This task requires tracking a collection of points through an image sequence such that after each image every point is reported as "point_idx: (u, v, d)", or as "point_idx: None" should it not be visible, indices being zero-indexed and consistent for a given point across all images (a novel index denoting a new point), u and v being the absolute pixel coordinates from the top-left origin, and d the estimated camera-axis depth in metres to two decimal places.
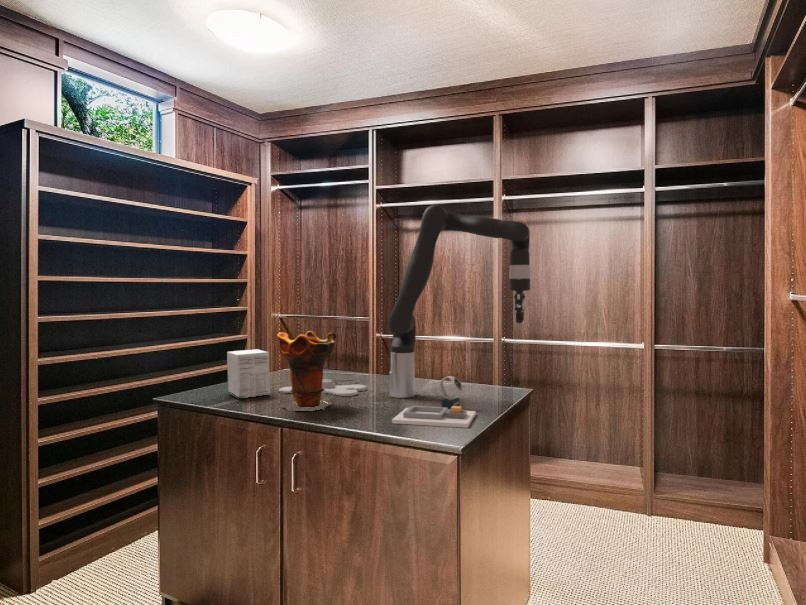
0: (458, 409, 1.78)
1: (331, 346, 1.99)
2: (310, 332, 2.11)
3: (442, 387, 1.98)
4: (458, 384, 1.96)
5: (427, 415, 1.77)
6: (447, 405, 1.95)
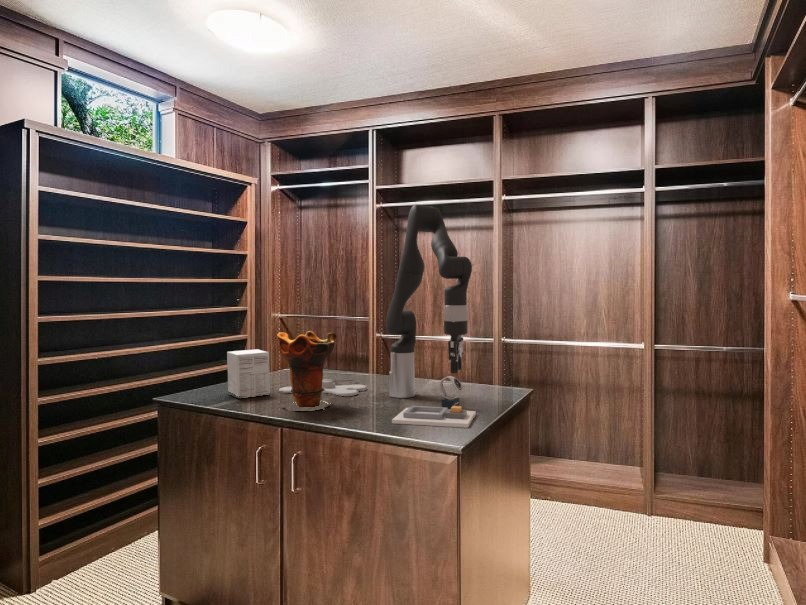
0: (458, 409, 1.78)
1: (331, 346, 1.99)
2: (310, 332, 2.11)
3: (442, 387, 1.98)
4: (458, 384, 1.96)
5: (427, 415, 1.77)
6: (447, 405, 1.95)
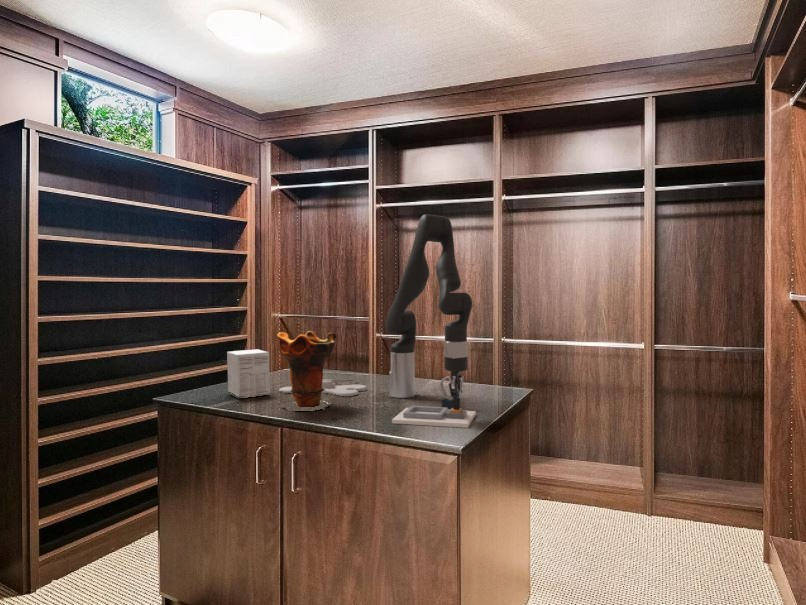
0: (458, 411, 1.78)
1: (331, 346, 1.99)
2: (310, 332, 2.11)
3: (442, 387, 1.98)
4: None
5: (427, 415, 1.77)
6: (447, 405, 1.95)
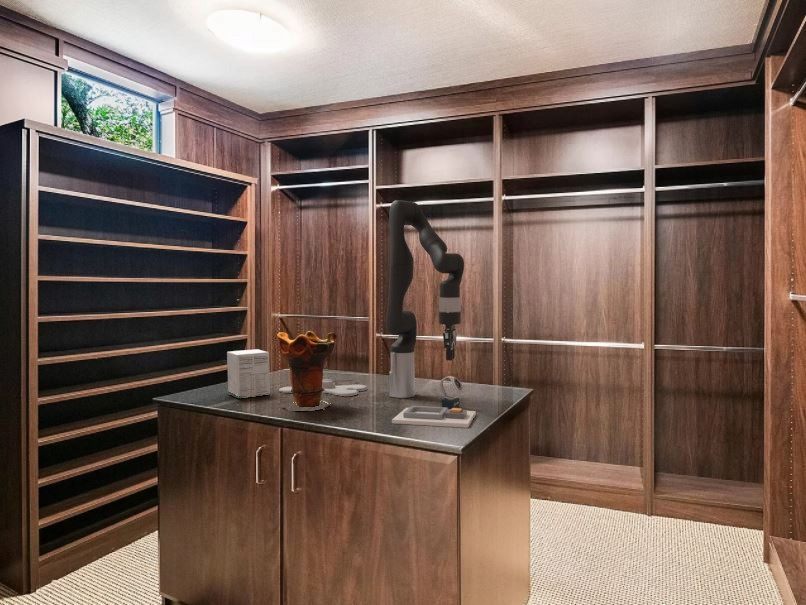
0: (458, 411, 1.78)
1: (331, 346, 1.99)
2: (310, 332, 2.11)
3: (442, 387, 1.98)
4: (458, 384, 1.96)
5: (427, 415, 1.77)
6: (447, 405, 1.95)
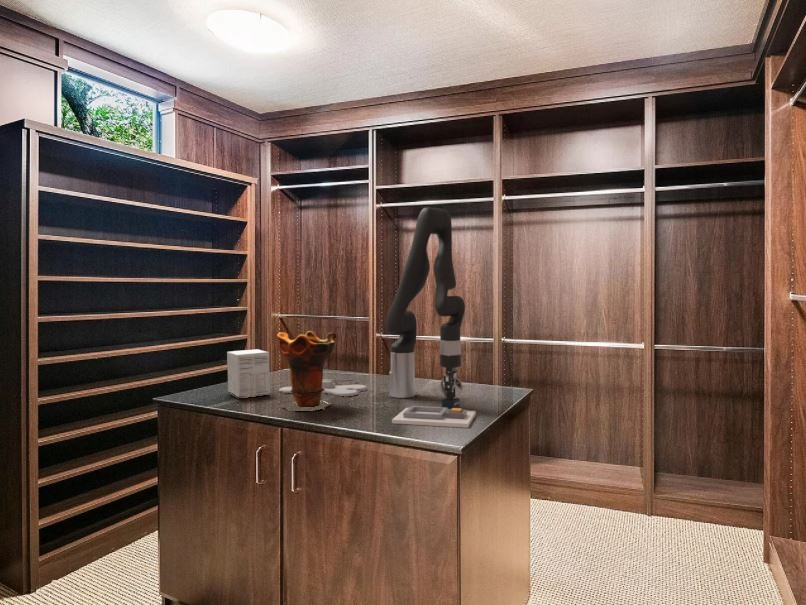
0: (458, 411, 1.78)
1: (331, 346, 1.99)
2: (310, 332, 2.11)
3: (442, 387, 1.99)
4: (458, 384, 1.96)
5: (427, 415, 1.77)
6: (448, 404, 1.95)
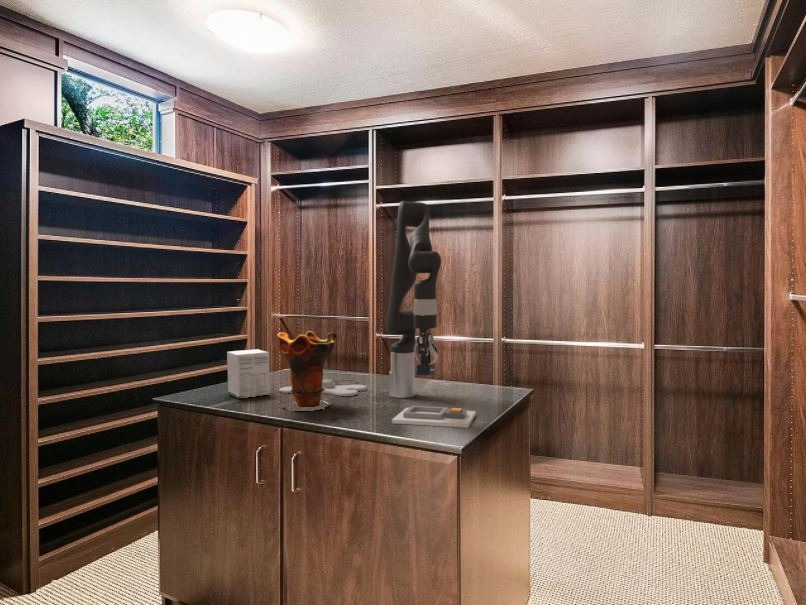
0: (458, 411, 1.78)
1: (331, 346, 1.99)
2: (310, 332, 2.11)
3: (417, 352, 1.83)
4: (435, 348, 1.81)
5: (427, 415, 1.77)
6: (423, 370, 1.79)
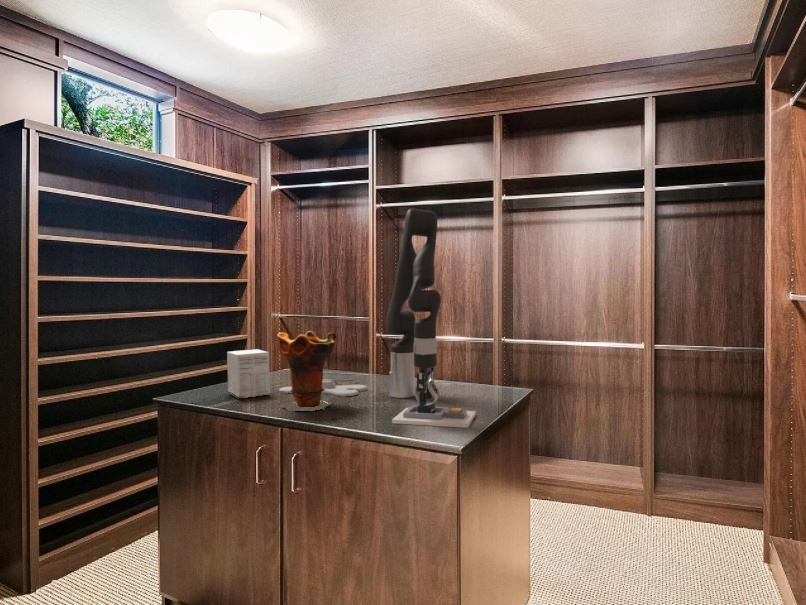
0: (458, 411, 1.78)
1: (331, 346, 1.99)
2: (310, 332, 2.11)
3: (417, 392, 1.83)
4: (435, 389, 1.82)
5: (427, 415, 1.77)
6: (424, 411, 1.80)
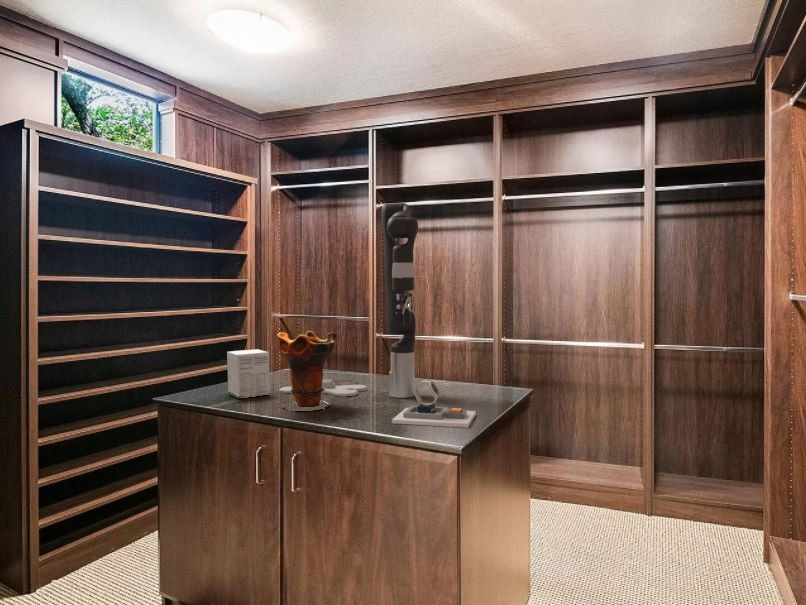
0: (458, 411, 1.78)
1: (331, 346, 1.99)
2: (310, 332, 2.11)
3: (417, 392, 1.83)
4: (435, 389, 1.82)
5: (427, 415, 1.77)
6: (424, 411, 1.80)
